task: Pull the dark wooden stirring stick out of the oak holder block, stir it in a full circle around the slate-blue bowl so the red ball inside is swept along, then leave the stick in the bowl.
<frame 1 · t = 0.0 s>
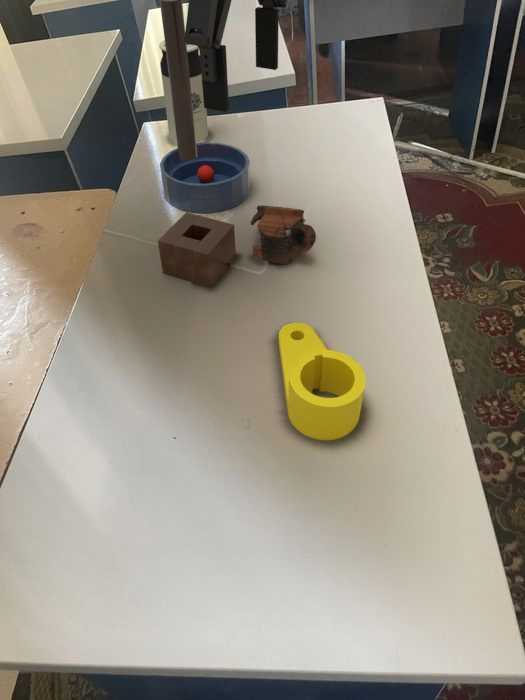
hand: (243, 87, 67), 27 cm above the table, tool pointing down, fingers open, 13 cm apart
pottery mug: (283, 250, 90), on the table
ball: (206, 181, 103), point 1 cm above the table, touching bowl
bowl: (207, 194, 101), on the table
holder: (200, 265, 87), on the table
travel mug: (189, 139, 117), on the table
stick: (188, 156, 74), point 18 cm above the table
crank: (311, 382, 70), on the table
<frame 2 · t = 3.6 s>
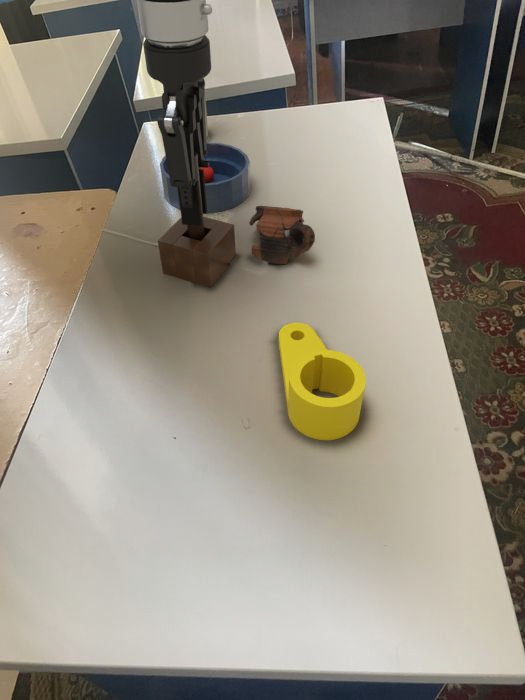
hand: (194, 217, 81), 8 cm above the table, tool pointing down, fingers closed on stick, 2 cm apart
stick: (199, 265, 87), resting in holder, touching gripper
everything else where it was.
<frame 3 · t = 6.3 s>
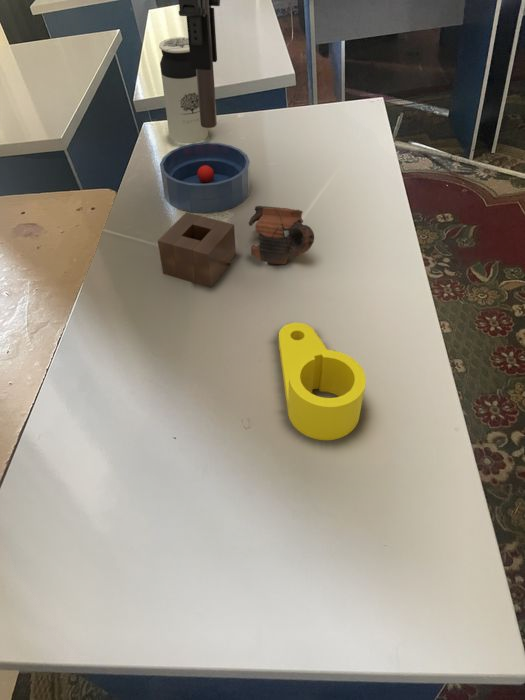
hand: (204, 64, 78), 25 cm above the table, tool pointing down, fingers closed on stick, 2 cm apart
stick: (208, 124, 84), point 16 cm above the table, touching gripper
everything else where it was.
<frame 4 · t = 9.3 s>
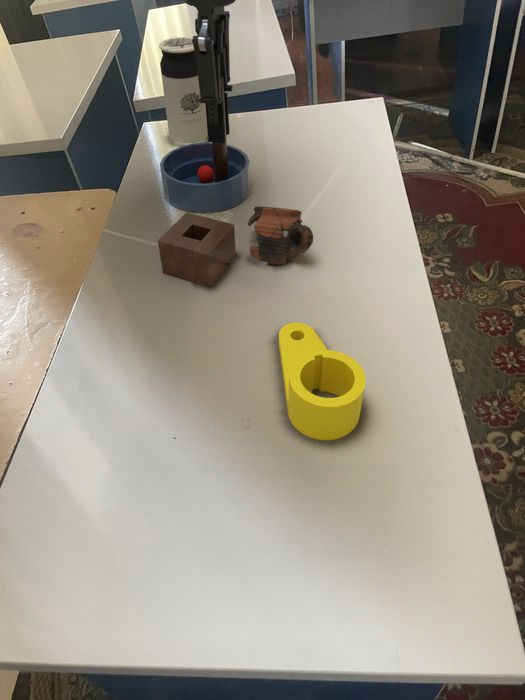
hand: (219, 137, 93), 11 cm above the table, tool pointing down, fingers closed on stick, 2 cm apart
stick: (222, 184, 99), point 2 cm above the table, touching gripper
everything else where it was.
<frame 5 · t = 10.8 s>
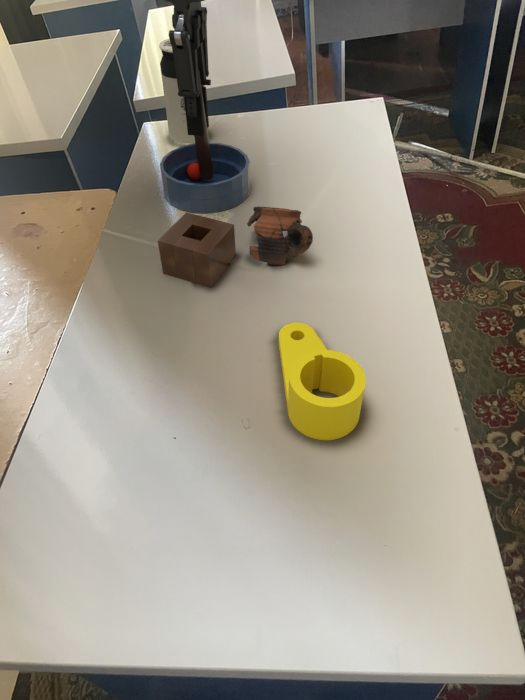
hand: (198, 130, 96), 11 cm above the table, tool pointing down, fingers closed on stick, 2 cm apart
ball: (201, 176, 102), point 2 cm above the table, tilted 76°, touching bowl, stick
stick: (207, 176, 102), point 2 cm above the table, touching ball, gripper
everything else where it was.
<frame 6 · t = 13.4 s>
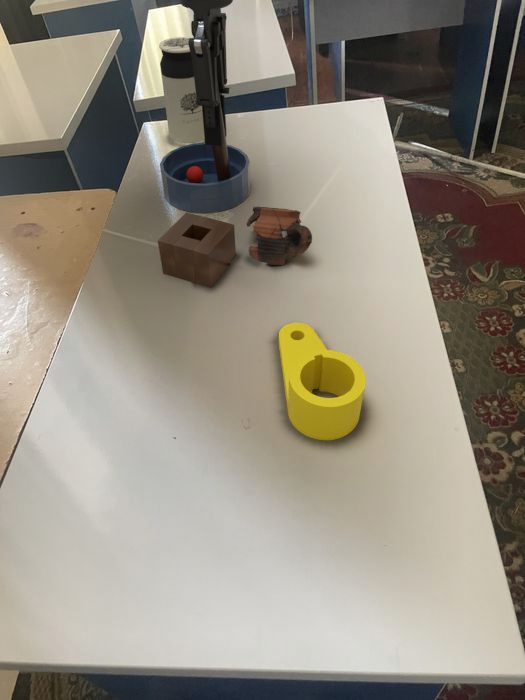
hand: (215, 139, 92), 11 cm above the table, tool pointing down, fingers closed on stick, 2 cm apart
ball: (195, 183, 102), point 1 cm above the table, tilted 40°, touching bowl
stick: (225, 187, 98), point 2 cm above the table, tilted 5°, touching gripper
everything else where it was.
when the fingers open (9 cm above the table, at t = 15.1 s): stick stays where it is, resting on bowl.
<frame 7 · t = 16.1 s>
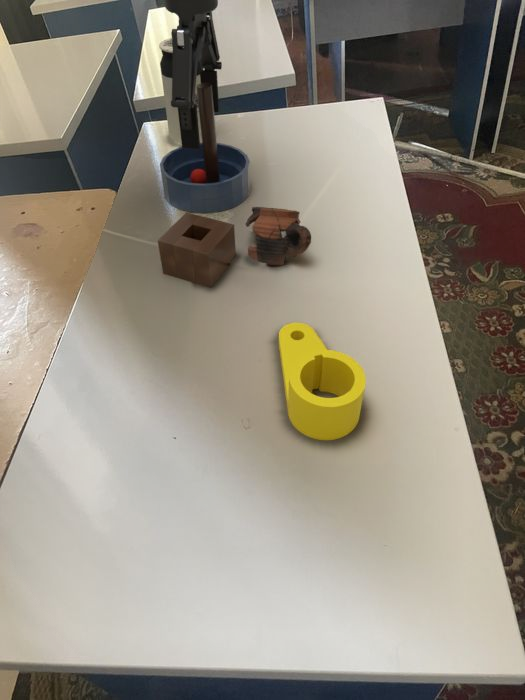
hand: (201, 128, 93), 12 cm above the table, tool pointing down, fingers open, 13 cm apart
ball: (196, 184, 102), point 1 cm above the table, tilted 22°, touching bowl
stick: (213, 190, 101), point 1 cm above the table, touching bowl
everything else where it was.
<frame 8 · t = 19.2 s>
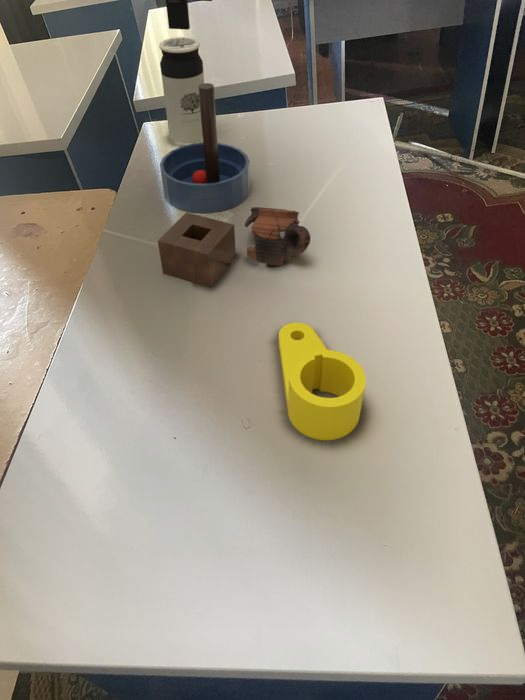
hand: (192, 13, 81), 29 cm above the table, tool pointing down, fingers open, 13 cm apart
ball: (196, 183, 102), point 1 cm above the table, tilted 39°, touching bowl
everything else where it was.
at the end: ball moved 2.2 cm from its start; ball inside the target area in the bowl (2.5 cm from its centre), point 1.1 cm above the bowl's base; stick inside the target area in the bowl (1.2 cm from its centre), point 0.8 cm above the bowl's base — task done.
